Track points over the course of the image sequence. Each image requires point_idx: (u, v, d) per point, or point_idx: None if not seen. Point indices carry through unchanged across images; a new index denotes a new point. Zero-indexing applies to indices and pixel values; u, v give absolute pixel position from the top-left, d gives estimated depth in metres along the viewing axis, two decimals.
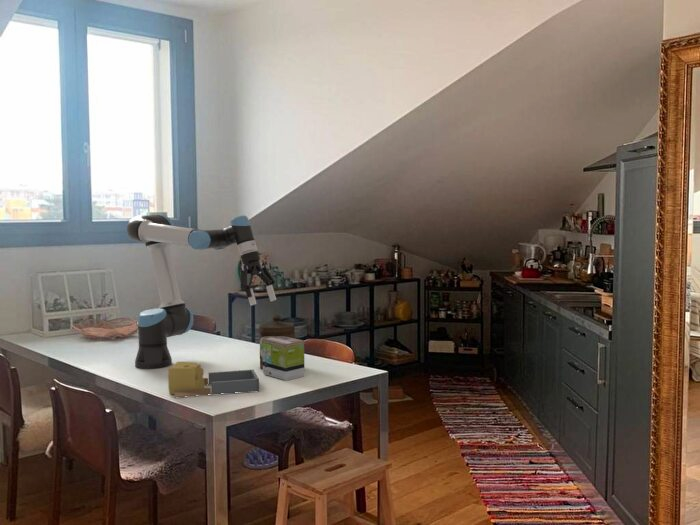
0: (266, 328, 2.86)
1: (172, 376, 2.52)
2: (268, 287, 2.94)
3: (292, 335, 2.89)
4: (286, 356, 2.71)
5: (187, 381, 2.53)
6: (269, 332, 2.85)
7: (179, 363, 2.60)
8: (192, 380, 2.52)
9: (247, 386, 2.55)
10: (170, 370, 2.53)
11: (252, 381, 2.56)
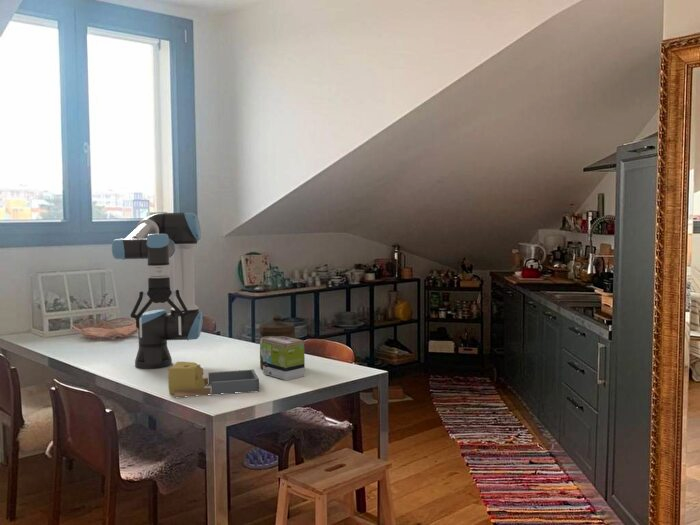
0: (266, 328, 2.86)
1: (172, 376, 2.52)
2: (178, 318, 2.56)
3: (292, 335, 2.89)
4: (286, 356, 2.71)
5: (187, 381, 2.53)
6: (269, 332, 2.85)
7: (179, 363, 2.60)
8: (192, 380, 2.52)
9: (247, 386, 2.55)
10: (170, 370, 2.53)
11: (252, 381, 2.56)
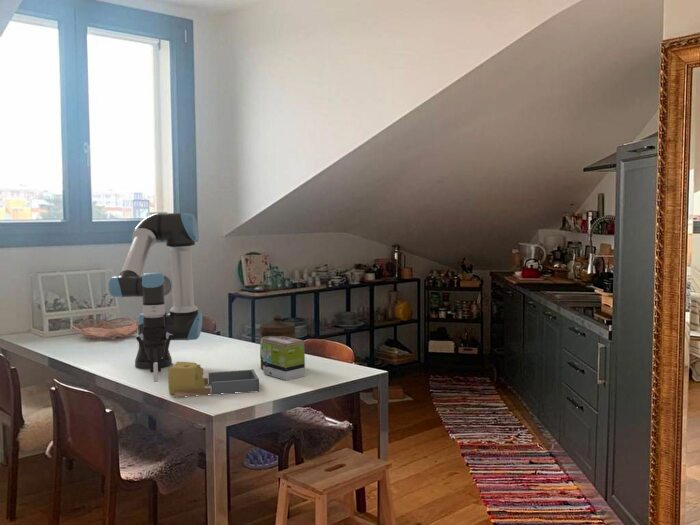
0: (267, 328, 2.86)
1: (172, 376, 2.52)
2: None
3: (293, 335, 2.90)
4: (286, 356, 2.71)
5: (187, 381, 2.53)
6: (270, 332, 2.86)
7: (179, 363, 2.60)
8: (192, 380, 2.52)
9: (247, 386, 2.55)
10: (170, 370, 2.53)
11: (252, 381, 2.56)
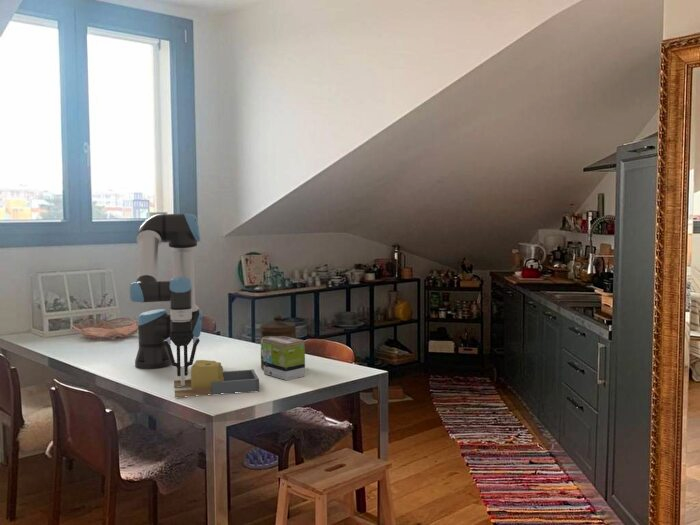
0: (267, 328, 2.86)
1: (195, 374, 2.54)
2: None
3: (293, 335, 2.90)
4: (286, 356, 2.71)
5: (210, 379, 2.55)
6: (270, 332, 2.86)
7: (199, 361, 2.61)
8: (215, 378, 2.55)
9: (247, 386, 2.55)
10: (193, 368, 2.54)
11: (252, 381, 2.56)
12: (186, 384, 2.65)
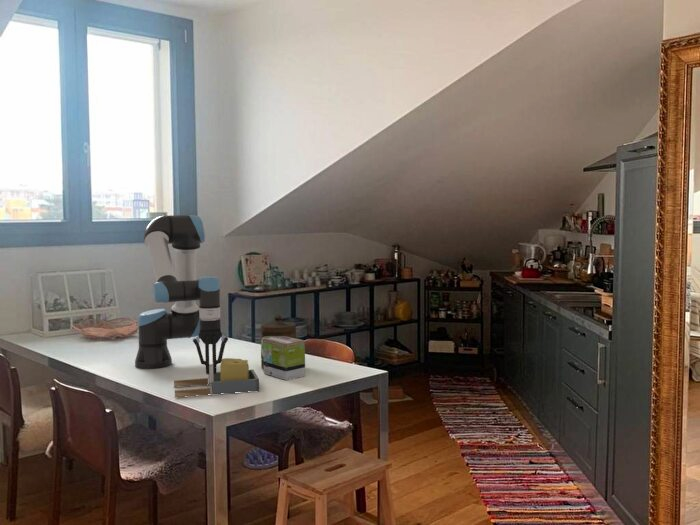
0: (267, 328, 2.86)
1: (225, 372, 2.57)
2: None
3: (293, 335, 2.90)
4: (286, 356, 2.71)
5: (239, 377, 2.58)
6: (270, 332, 2.86)
7: (226, 360, 2.64)
8: (244, 375, 2.58)
9: (247, 386, 2.55)
10: (222, 366, 2.57)
11: (252, 381, 2.56)
12: (186, 384, 2.65)
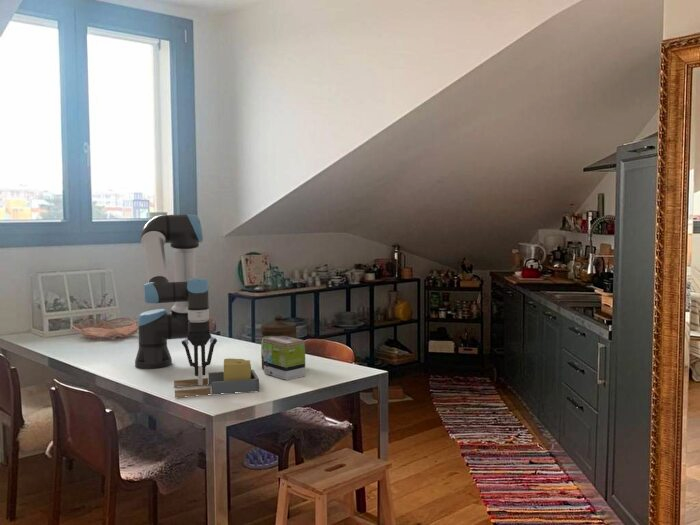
0: (267, 328, 2.87)
1: (228, 372, 2.57)
2: None
3: (293, 335, 2.90)
4: (286, 356, 2.72)
5: (242, 377, 2.58)
6: (270, 332, 2.86)
7: (228, 360, 2.64)
8: (247, 375, 2.58)
9: (247, 386, 2.55)
10: (225, 367, 2.57)
11: (252, 381, 2.56)
12: (186, 384, 2.65)
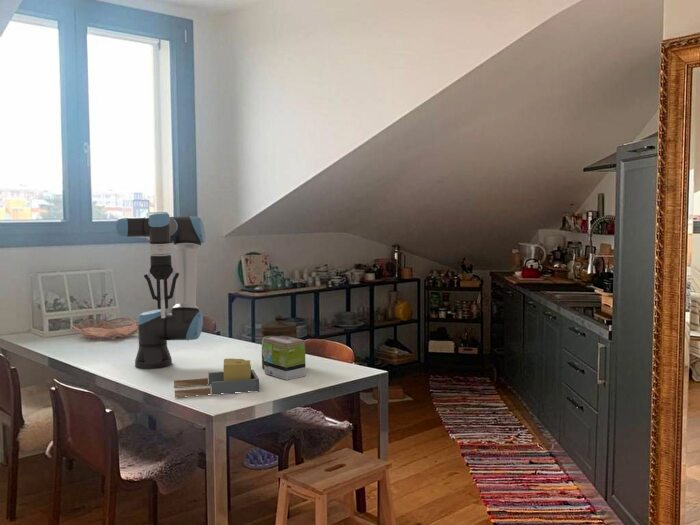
0: (268, 328, 2.87)
1: (228, 372, 2.57)
2: None
3: (294, 335, 2.90)
4: (287, 356, 2.72)
5: (242, 377, 2.58)
6: (271, 332, 2.86)
7: (228, 360, 2.64)
8: (247, 375, 2.58)
9: (247, 386, 2.55)
10: (225, 367, 2.57)
11: (252, 381, 2.56)
12: (186, 384, 2.65)
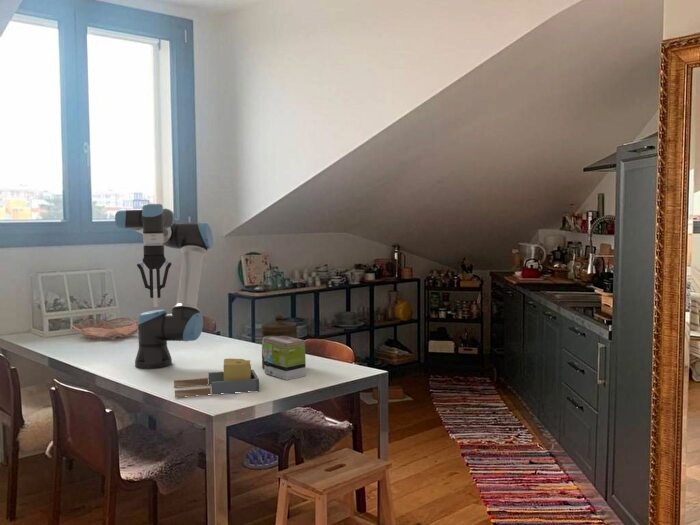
0: (268, 328, 2.87)
1: (228, 372, 2.57)
2: None
3: (294, 335, 2.90)
4: (287, 356, 2.72)
5: (242, 377, 2.58)
6: (271, 331, 2.86)
7: (228, 360, 2.64)
8: (247, 375, 2.58)
9: (247, 386, 2.55)
10: (225, 367, 2.57)
11: (252, 381, 2.56)
12: (186, 384, 2.65)
